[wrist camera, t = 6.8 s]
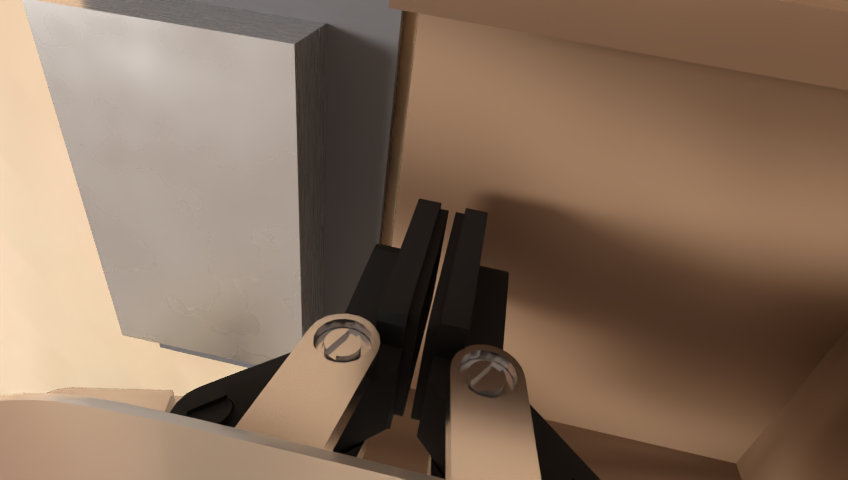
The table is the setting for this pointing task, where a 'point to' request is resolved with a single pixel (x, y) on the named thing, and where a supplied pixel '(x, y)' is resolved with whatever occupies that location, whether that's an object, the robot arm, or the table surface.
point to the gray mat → (348, 130)
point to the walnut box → (649, 222)
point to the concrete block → (196, 165)
